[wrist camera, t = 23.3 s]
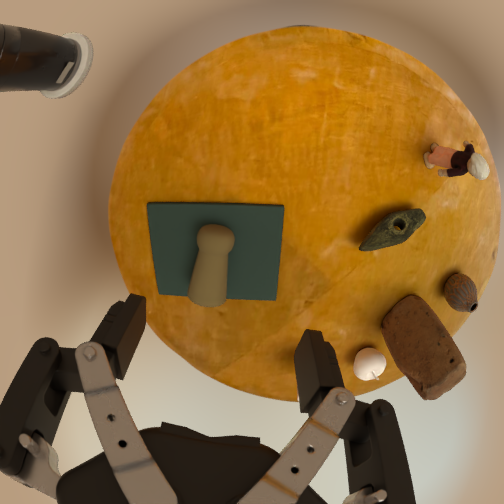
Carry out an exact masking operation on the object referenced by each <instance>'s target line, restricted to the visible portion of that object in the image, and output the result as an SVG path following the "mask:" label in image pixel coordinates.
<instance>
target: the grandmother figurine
mask: <svg viewBox="0 0 504 504" xmlns="http://www.w3.org/2000/svg"><path fill="white" fill-rule="evenodd" d="M463 146H464V147H465V150H464V151H457V150H454V149H451V148H447V147H441V146H438V145H437V144H436V143H433V144H432V145H431V150H432V152H433V153H432V154H431V153H430V152H426V153H425V154H424V161H425V164H426V167H427V168H429V169H430V168H433V167H434V166H435V165H438V166H442V167H445V168H450V169H444V170H442V169H439V170H438V175H439V176H448V177H453V176H461V175H464V174H465V173H467V172H469V173H470V174H471V175H472V176H474V177H475V178H478V179H479V180H484V179H486V178H487V177H488V175H489V166H488V164H487V162H486V160H485V159H484V158H483V157H482V156H481V155H480V154H478V153H475V151H474V148H473V145H472V144H469V143H468V142H467V141H464V142H463Z"/></svg>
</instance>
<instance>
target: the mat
mask: <svg viewBox="0 0 504 504" xmlns="http://www.w3.org/2000/svg"><path fill="white" fill-rule="evenodd" d="M147 212H148V221H149V230H150V239H151V246H152V254H153V261H154V267H155V274H156V280H157V286H158V292H159V294H163V295H176V296H188V295H187V292H188V288H189V284H190V280H191V277H192V273H193V269H194V266H195V262H196V259H197V255H198V251H199V247H198V244H197V234H198V232H199V230H200V229H201V228H202V227H203V226H205V225H209V224H216V225H221V226H225V227H227V228H229V229H230V230H231V231H232V232H233V234H234V237H235V241H234V246H233V248H232V250H231V251H230V252H229V253H228V270H227V294H226V299H245V300H275V301H276V294H277V284H278V274H279V263H280V252H281V241H282V229H283V217H284V205H270V204H245V203H204V202H149V203H148V204H147Z"/></svg>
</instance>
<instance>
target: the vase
mask: <svg viewBox="0 0 504 504" xmlns="http://www.w3.org/2000/svg"><path fill="white" fill-rule="evenodd" d="M444 295H445V298H446V301H447V302H448V304H449V305H450V306H451V307H452V308H453V309H455V310H457V311H461V312H466V311H467V312H470V313H472V312H474V311H475V310H476V308H477V307H478V301H477V289H476V286H475V284H474V282H473V281H472V280H471V279H470V278H469V277H468V276H466V275H464V274H460V273H459V274H454V275H452V276H451V277H450V278H449V279H448V280H447V282H446V284H445V287H444Z"/></svg>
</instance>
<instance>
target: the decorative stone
mask: <svg viewBox="0 0 504 504" xmlns="http://www.w3.org/2000/svg"><path fill="white" fill-rule="evenodd" d="M425 219H426V216H425V214H424V212H423V211H422V210H421V209H419V208H418V209H410V210H403V211H396V212H392V213H390V214H388V215H387V216H386V217H384V218H383V219H382V220H381V221H380V222H379V223H378V224H377V225H376V226H375V227H374V228H373V229H372V230H371V231H370V233H369V234H368V235H367V236H366V238H365V239H364V240H363V242H362V243H361V245H360V247H359V250H361V251H373V250H377V249H381V248H385V247H390V246H393V245H397V244H400V243H403V242H404V241H406V240H407V239H408V238H409V237H410V236H411V235H412V234H413V233H414V231H415V230H416V229H418V228H419V227H420V226H421V225H422V224H423V223H424V221H425ZM394 226H398V227H399V228H400V230H397V229H395V228H394Z"/></svg>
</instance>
